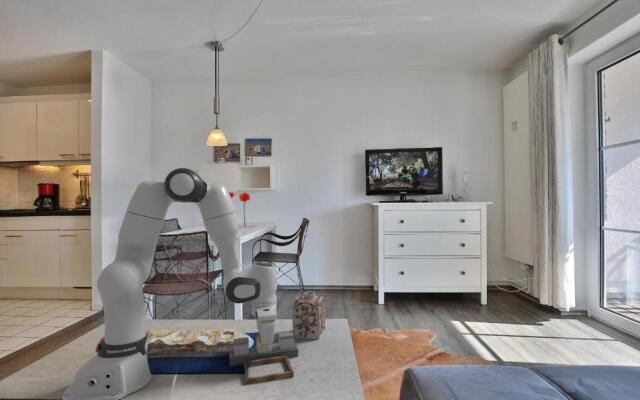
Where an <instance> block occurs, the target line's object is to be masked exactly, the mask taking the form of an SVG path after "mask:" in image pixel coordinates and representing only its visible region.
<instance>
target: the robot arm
mask: <svg viewBox="0 0 640 400" xmlns="http://www.w3.org/2000/svg"><path fill="white" fill-rule="evenodd" d="M229 192H230V191H228V189H227V187H226V186H225V185H224V184H222V183H221V184H220V183H215V182H213V183H207V182H206V181H205V180H204V179H202V177H201V176H200V175H199V174H198V173H197V172H195V171H194V170H192V169H190V168H187V167H186V168H185V167H179V168H175V169H173V170H171V171H170V172H169V173H167V175H166V177H165V179H164V180H163V181H162V182H159V181H157V180H156V181H155V180H147V181H143V182H141V183H139V184H138V185H137V187H136V188H135V190H134V192H133V194H132V196H131V198H130V200H129V202H128V205H127V207H126V211H125V214H124V216H123V219H122V223H121V226H120V229H119V232H118V235H117V237H118V239H117V248H116V253H115V257H114V260H113V261H112V263H109V264H108V265H106V266H105V267H104V268H103V269H102V271H101V272H100V274H99V276H98V278H97V282H96V288H97V291H98V292H99V295H100V299H101V304H102V309H103V314H104V336H103V337H101V339H99V342H98V343H97V345H96V347H95V353H96V354H95V355H93V356H92V357H91V358H90V359H89V360H87V361H86V362H85V363H83V364H82V365H81V367H79V369H78V370H77V371H76V373H75V375H74V378H73V381H72V383H71V384H69V385H68V387H67V388H66V389H65V390H64V392H63V394H62V396H61V400H119V399H120V400H121V398H122V399H123V398H125V397H126V396H128V395H130V394H131V393H135V392H136V391H139V390H141V389H142V388H144V387H145V386H147V385H148V384H149V383H150V382H151V380H152V373H151V370H150V367H149V362H148V351H149V338H148V333H147V307H146V304H145V300H144V288H143V287H144V283H146V281H147V279H148V278H149V276H150V273H151V270H152V264H153V262H154V257H155V255H156V254H155V253H156V249H157V244H158V240H159V238H160V234H161V231H162V227H163V224H164V222H165V218H166V215H167V212H168V209H169V208H170V205H171V204H173V203H195V204H196V205H197V206H198V209H199V211H200V215H201V218H202V222H203V225H204V227H205V230H206V233H207V235H208V237H209V238H210V240H211V241H212V243H213V244H215V245H214V246H215V247H216V248H217V251H218V253H219V258H220V262H221V265H222V271H223V273H222V277H221V278H222V279H221V286H222V289H223V291H224V293H225V295H226V298H227V299H228V300H229V301H230V302H232V303H234V304H244V303H247V302H251V315H252V316H253V317H254V318H255V320H256V321H255V322H256V327H257V331H258V333H259V335H258V336H260V338H261V342H262V349H263V351H266V350H268V345H270V344H272V345H273V344H274V340H275V326H276V321H277V319H278V317H277V315H278V314H277V312H278V311H277V309H278V307H277V305H278V303H277V300H278V298H277V295H276V292H277V287H278V285H277V284H278V283H277V282H278V281H277V279H278V278H277V271H276V267H274V265H272V264H270V263H268V262H263V261H262V262H261V261H257V262H254V263H253V264H252V265H251V266H250V267H248V268H246V269H244V268H243V266H242V265H241V262H240V258H239V254H238V251H237V247H236V240H237V235H238V233H239V223H238V222H239V220H238V216H237V215H238V214H237V212H236V208H235V205H234V201H233V200H232V197H231V195H230V193H229Z"/></svg>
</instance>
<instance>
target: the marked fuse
mask: <svg viewBox="0 0 640 400" xmlns="http://www.w3.org/2000/svg"><path fill="white" fill-rule="evenodd" d="M272 346H273V344H270V345H268V350H266V351H263V349H262V342H261V338H260V335H256V348H257V354H258V353H265V352H272Z"/></svg>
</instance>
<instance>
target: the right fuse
mask: <svg viewBox="0 0 640 400" xmlns="http://www.w3.org/2000/svg"><path fill="white" fill-rule="evenodd" d="M294 343H295V337H294V334H293V331H287V332H282V333H278V345H279V350H288V349H294Z"/></svg>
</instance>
